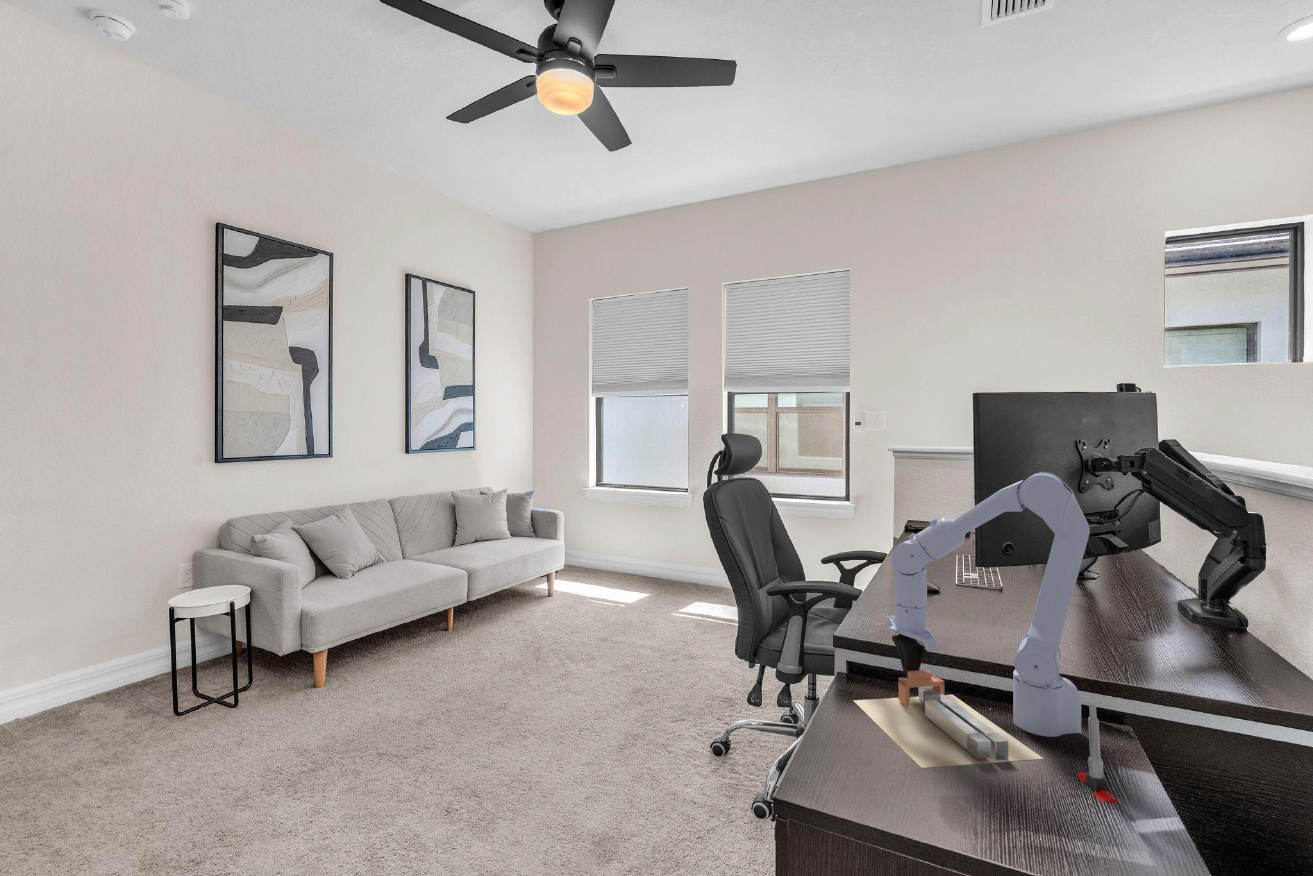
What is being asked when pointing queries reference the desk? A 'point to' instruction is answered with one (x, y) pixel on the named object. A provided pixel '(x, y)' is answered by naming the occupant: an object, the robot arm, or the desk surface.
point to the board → (933, 734)
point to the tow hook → (1095, 761)
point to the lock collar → (918, 684)
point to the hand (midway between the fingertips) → (910, 675)
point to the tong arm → (958, 730)
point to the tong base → (968, 721)
